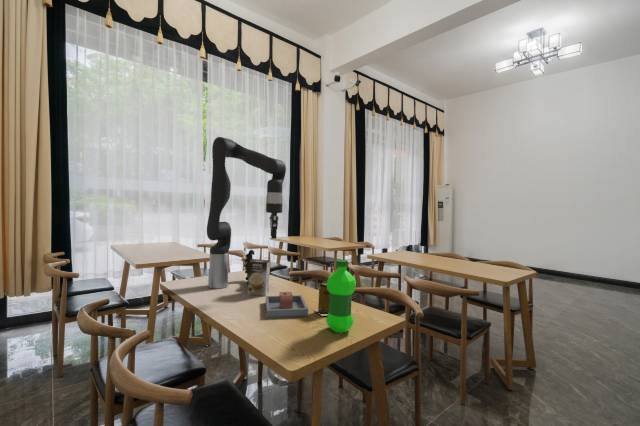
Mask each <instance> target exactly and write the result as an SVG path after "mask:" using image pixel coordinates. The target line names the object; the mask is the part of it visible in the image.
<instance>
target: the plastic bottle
mask: <svg viewBox="0 0 640 426" xmlns="http://www.w3.org/2000/svg"><path fill="white" fill-rule="evenodd" d="M335 262H336V264H335V266H337V267H336V268H337V269H336V270H335V271H334V272H332V273H331V275H329V277H328V278H327V280H326V282H327V290H328V291H329V292H330V305H329V313H328V315H327V317H325V319H326V320H325V322H326V325H327V327H328V328H330V329H331V331H332V330H333V331H332V332H334V331H335V332H334V333H336V332H345V333H347V332H348V331H349V330H350V329H351V328H352V327H353V325H354V315H353V313H352V301H353V299H352V297H353V295H352V294H354V293H355V290H356V285H357V281H356V278H355V277H354V276H353V275H352V274H351V273H350V272H349V271H348V270H347V267H349V260H347V259H336V261H335Z"/></svg>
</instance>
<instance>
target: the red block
mask: <svg viewBox="0 0 640 426" xmlns="http://www.w3.org/2000/svg"><path fill="white" fill-rule="evenodd" d="M293 295H294V294H293V292H292V291H279V295H278V296H279V308H280V309H292V305H293Z"/></svg>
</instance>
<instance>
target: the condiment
mask: <svg viewBox="0 0 640 426" xmlns="http://www.w3.org/2000/svg"><path fill="white" fill-rule="evenodd" d="M319 286H320V287H319V290H318V308H317V309H314V310H313V311H314V312H315V311H316V312H318V313H320V314H328V313H329V305H330V292H329V291H328V290H327V281H325V282H320V285H319ZM316 312H315V313H316ZM318 313H317V314H318ZM320 314H318V315H319V316H320ZM321 317H322V318H324V317H323V316H321Z"/></svg>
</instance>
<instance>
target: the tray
mask: <svg viewBox="0 0 640 426" xmlns="http://www.w3.org/2000/svg"><path fill="white" fill-rule="evenodd" d="M292 295H293V305H292V309H280V308H279V295H266V296H265V310H266V313H265V314H266V319H279V318H280V319H283V318H284V319H286V318H303V317H304V318H305V317H306V318H307V316H308V317H309V307H308V306H307V304H306V301H305V299H304V297H303V295H302V294H297V295H294V294H292Z"/></svg>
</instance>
